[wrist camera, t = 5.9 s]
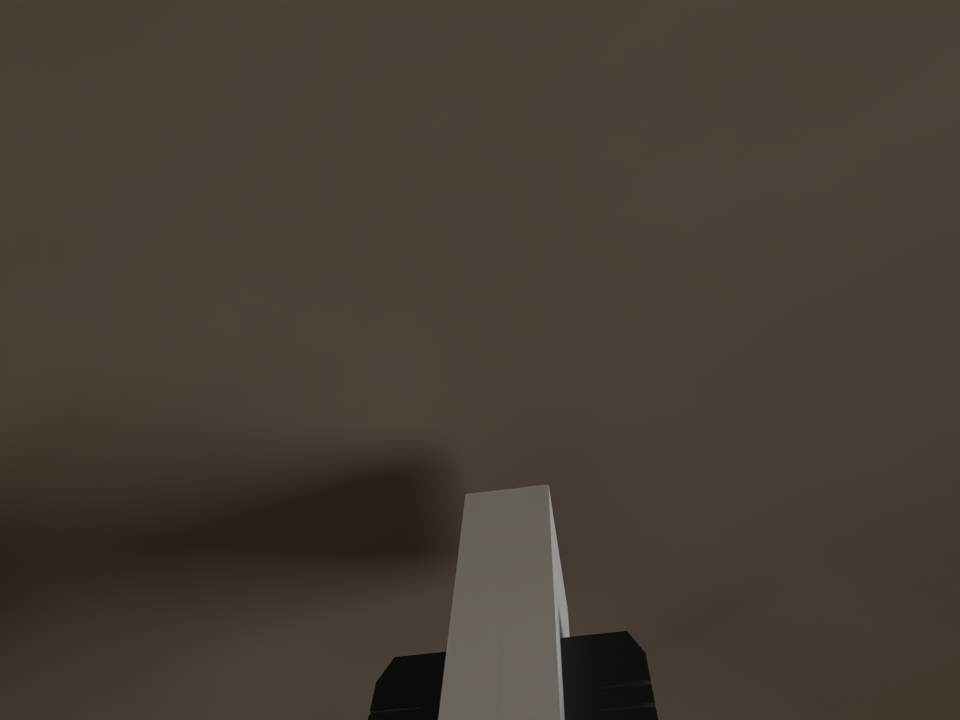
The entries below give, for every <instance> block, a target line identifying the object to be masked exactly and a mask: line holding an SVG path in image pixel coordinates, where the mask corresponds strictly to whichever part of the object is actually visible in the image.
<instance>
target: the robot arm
mask: <svg viewBox="0 0 960 720" xmlns="http://www.w3.org/2000/svg"><path fill="white" fill-rule="evenodd" d="M370 711H371V714H370V715H369V717H368V720H658V717H657V712H656V708H655V701H654V696H653V691H652V685H651V680H650V675H649V670H648V664H647V659H646V654H645V652H644V651H643V650H642V648H641V647H640V646H639V645H638V644H637V643H636V641H635V640H634V639H633V638H632V637H631V635H630V634H629V633H628V632H627V631H623V632H614V633H604V634H594V635H584V636H574V637H570V636H569V622H568V610H567V603H566V596H565V590H564V583H563V577H562V570H561V564H560V557H559V551H558V544H557V537H556V531H555V524H554V518H553V511H552V505H551V498H550V492H549V485H548V484H547V485H538V486H530V487H522V488H513V489H505V490H497V491H488V492H480V493H472V494H466V495H465V503H464V512H463V520H462V528H461V536H460V544H459V553H458V561H457V569H456V577H455V585H454V594H453V602H452V610H451V618H450V626H449V634H448V643H447V651H446V652H440V653H430V654H421V655H411V656H401V657H395V658H394V659H393V660H392V662H391V663H390V664H389V666H388V667H387V668H386V670H385V671H384V672H383V674H382V675H381V677H380V678H379V679H378V681H377V682H376V686H375V690H374V695H373V699H372V704H371V708H370Z"/></svg>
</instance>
